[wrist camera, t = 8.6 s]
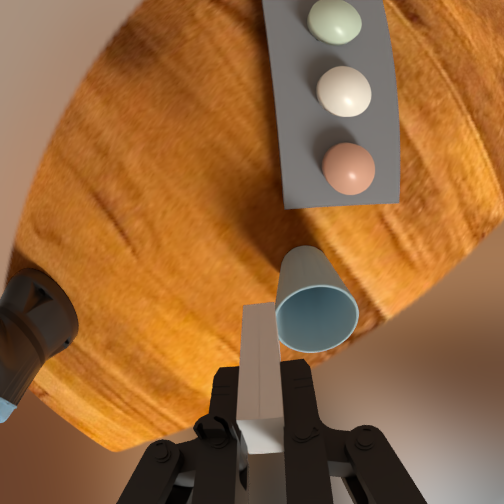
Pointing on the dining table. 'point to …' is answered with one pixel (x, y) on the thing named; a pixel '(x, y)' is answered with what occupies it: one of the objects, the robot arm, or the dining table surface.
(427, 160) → the dining table surface
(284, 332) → the cup
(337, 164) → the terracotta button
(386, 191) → the gray rectangular slab
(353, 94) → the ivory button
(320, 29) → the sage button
